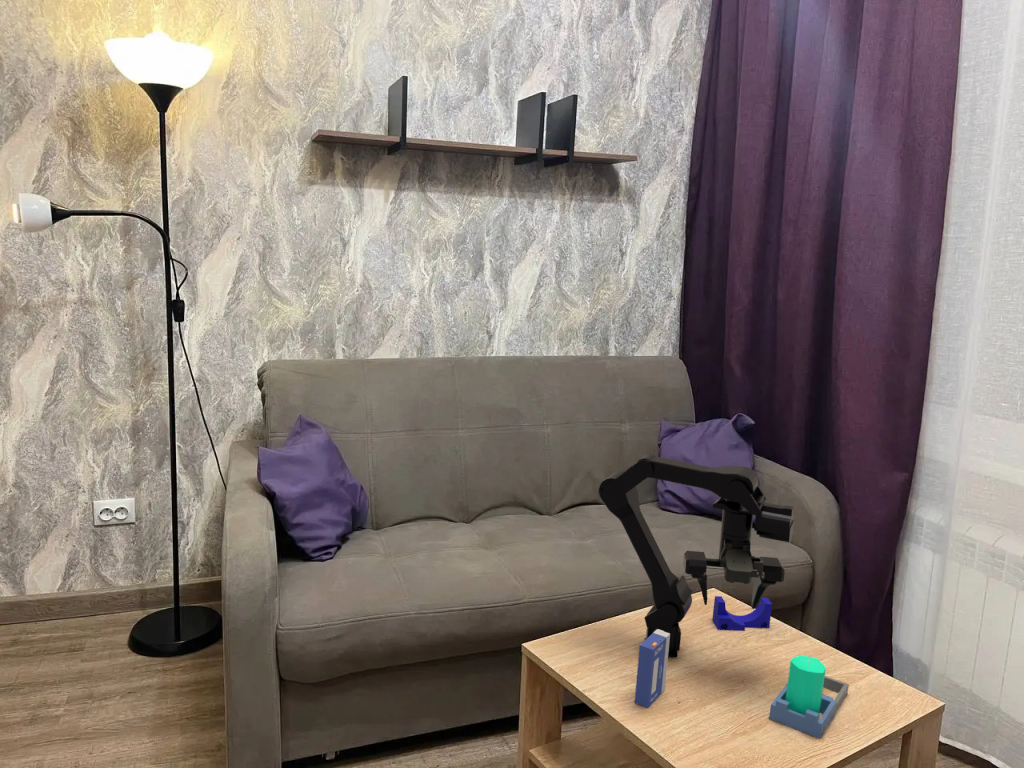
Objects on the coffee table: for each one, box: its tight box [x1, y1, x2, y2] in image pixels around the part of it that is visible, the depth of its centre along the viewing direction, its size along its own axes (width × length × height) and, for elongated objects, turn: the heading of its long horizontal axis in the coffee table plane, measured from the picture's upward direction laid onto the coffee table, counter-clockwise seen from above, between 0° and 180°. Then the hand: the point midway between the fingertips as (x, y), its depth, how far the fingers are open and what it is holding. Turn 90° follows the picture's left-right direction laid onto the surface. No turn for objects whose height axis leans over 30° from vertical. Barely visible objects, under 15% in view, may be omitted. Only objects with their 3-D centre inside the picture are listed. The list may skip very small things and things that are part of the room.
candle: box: [785, 654, 827, 721], centre depth 148 cm, size 6×6×12 cm
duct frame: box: [768, 675, 850, 739], centre depth 152 cm, size 18×9×4 cm, turn 144°
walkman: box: [634, 629, 670, 709], centre depth 151 cm, size 8×3×12 cm, turn 146°
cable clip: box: [711, 595, 773, 632], centre depth 181 cm, size 12×4×6 cm, turn 92°
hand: (729, 606), depth 162 cm, fingers open, 9 cm apart
